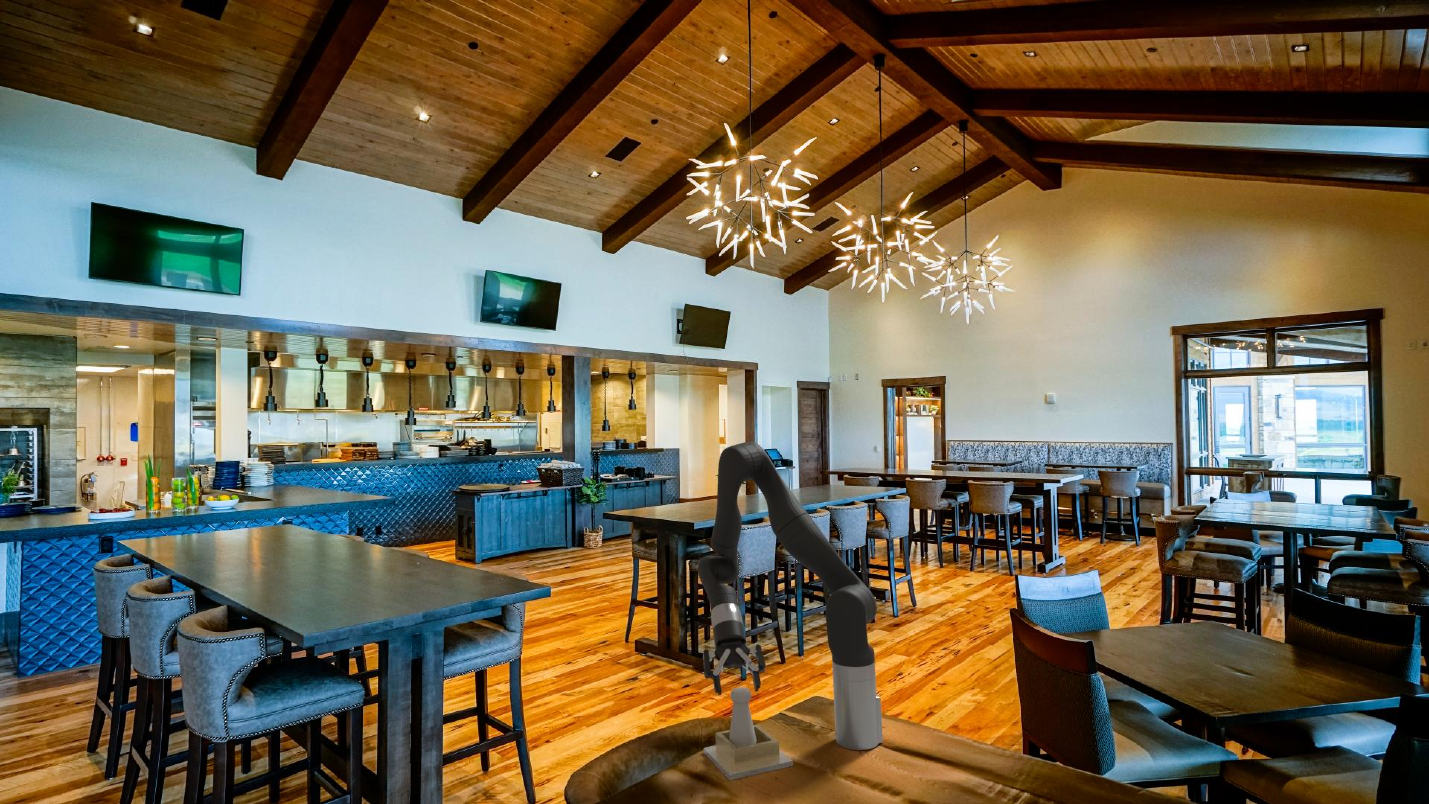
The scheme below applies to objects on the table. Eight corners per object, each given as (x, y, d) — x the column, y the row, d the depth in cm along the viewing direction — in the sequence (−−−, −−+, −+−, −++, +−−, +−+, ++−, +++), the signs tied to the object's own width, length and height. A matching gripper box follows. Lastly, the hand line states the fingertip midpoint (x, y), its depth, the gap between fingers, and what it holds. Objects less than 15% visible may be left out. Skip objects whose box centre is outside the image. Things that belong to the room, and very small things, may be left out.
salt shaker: (754, 759, 142) (751, 694, 143) (726, 758, 144) (724, 693, 145) (758, 747, 148) (756, 685, 149) (732, 746, 149) (730, 684, 150)
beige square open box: (762, 740, 154) (761, 719, 155) (793, 765, 141) (792, 743, 142) (703, 752, 149) (703, 731, 149) (729, 780, 136) (729, 756, 136)
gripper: (699, 621, 166) (708, 687, 154) (758, 616, 168) (771, 680, 156) (698, 637, 171) (706, 703, 159) (755, 632, 173) (767, 696, 161)
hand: (738, 691), depth 158 cm, fingers open, 8 cm apart
